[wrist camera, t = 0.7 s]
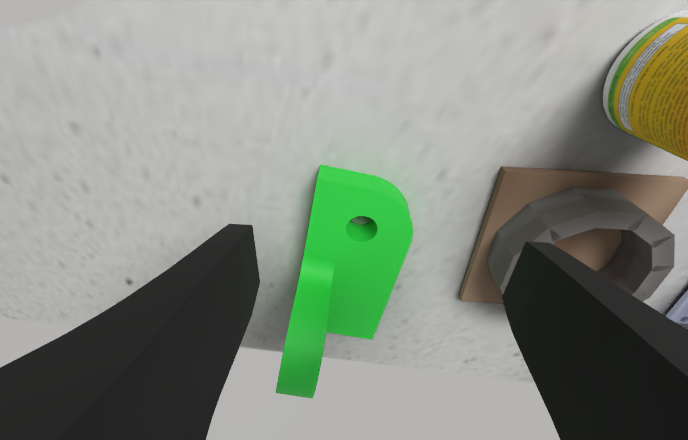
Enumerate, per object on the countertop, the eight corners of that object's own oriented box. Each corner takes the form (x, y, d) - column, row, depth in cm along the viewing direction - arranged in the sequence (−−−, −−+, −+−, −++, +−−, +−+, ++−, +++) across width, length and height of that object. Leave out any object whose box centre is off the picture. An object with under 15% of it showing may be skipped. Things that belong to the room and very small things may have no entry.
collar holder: (683, 177, 18) (737, 205, 16) (598, 303, 24) (627, 340, 21) (501, 166, 18) (525, 193, 16) (459, 294, 24) (471, 330, 21)
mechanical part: (371, 317, 26) (375, 427, 19) (295, 304, 25) (272, 412, 19) (421, 184, 19) (454, 279, 13) (320, 163, 19) (299, 250, 12)
